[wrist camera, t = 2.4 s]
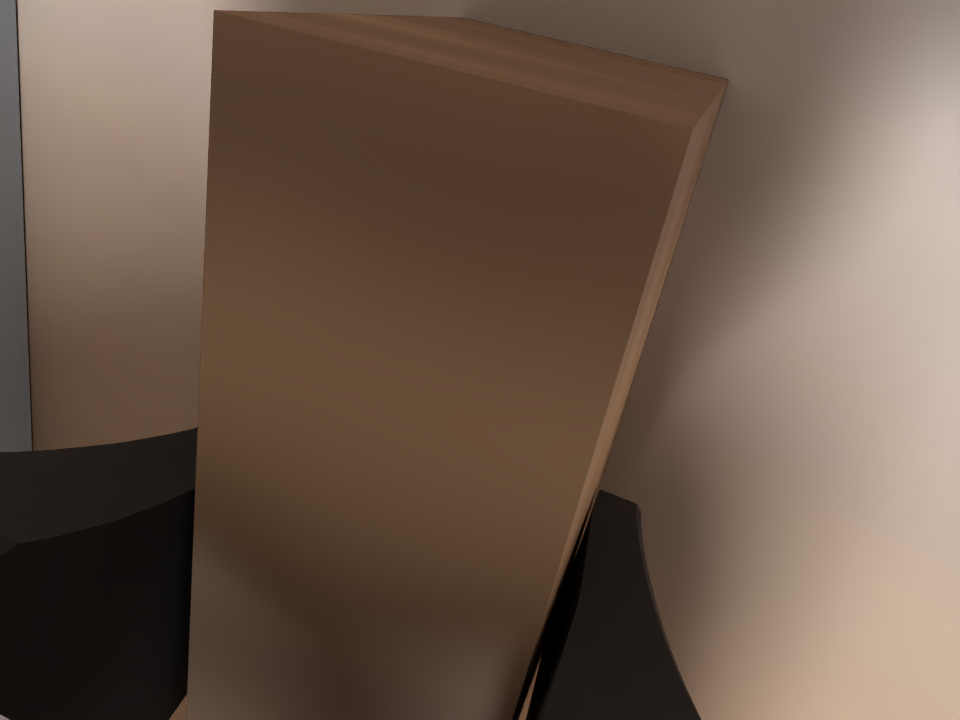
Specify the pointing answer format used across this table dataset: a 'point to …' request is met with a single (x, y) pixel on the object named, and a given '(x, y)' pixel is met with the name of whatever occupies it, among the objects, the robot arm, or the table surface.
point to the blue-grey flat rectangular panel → (12, 252)
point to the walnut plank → (415, 350)
